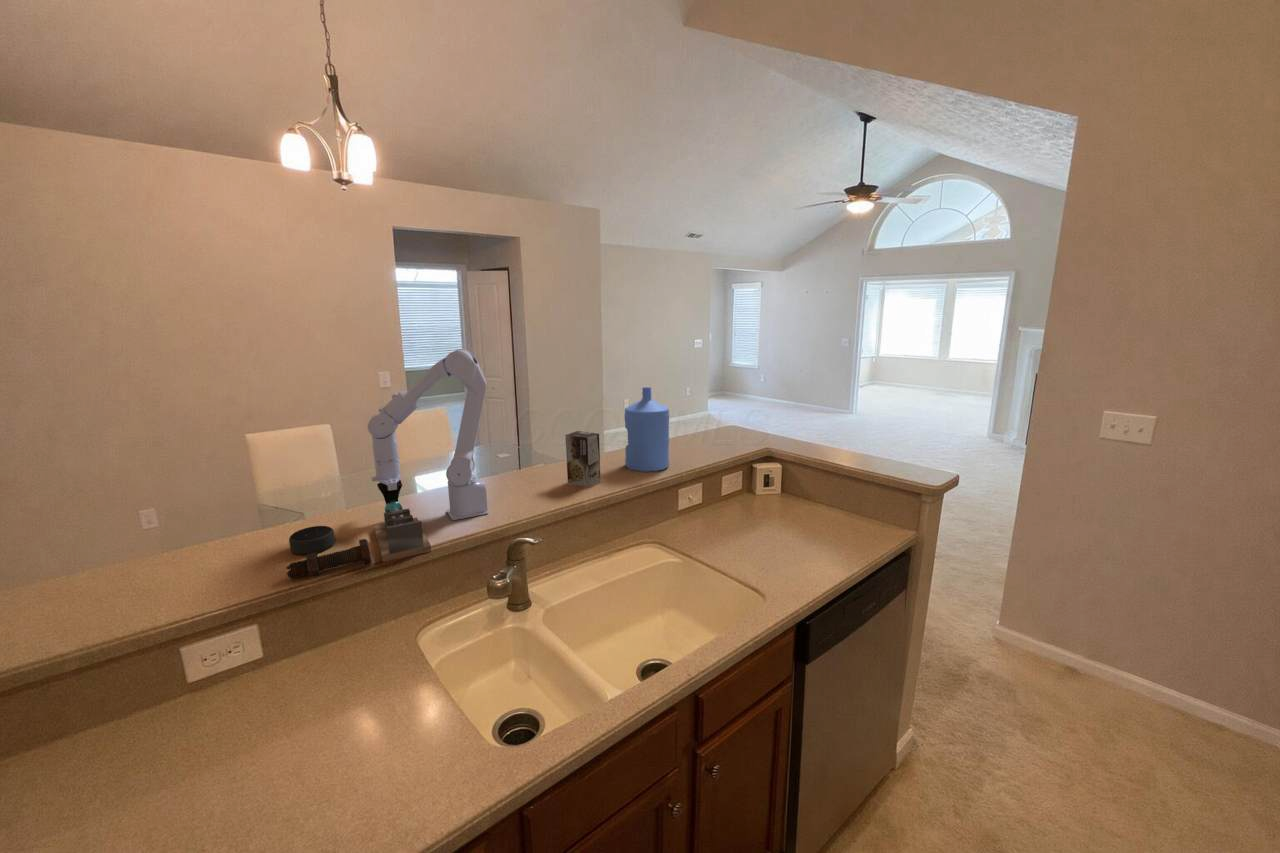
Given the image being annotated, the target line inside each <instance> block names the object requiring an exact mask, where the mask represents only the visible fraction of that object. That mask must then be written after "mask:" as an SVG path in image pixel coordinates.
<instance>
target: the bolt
mask: <svg viewBox="0 0 1280 853" xmlns="http://www.w3.org/2000/svg"><path fill="white" fill-rule="evenodd" d="M358 544H359V545H357V546H352V547H350V548H346V549H342V550H338V551H335V552H332V553H331V552H330V553H327V554H322V555H319V556H318V554H317V553H311V554H307V555H305V559H302V560H299V561H294V562H291V563H290V564H289V565H287V566H286V570H288V571H287V572H286V575H287V577H288V578H289V579H294V578H299V577H303V576H305V575H308V576H309V578H317V577H319V576H320V575H321V572H322V571H324V570H331V569H334V568H337V567H342V566H346V565H350V564H356V563H357V564H358V563H360V562H362V564H363V566H365V567H366V566H369V565H371V563H372V557H371V551H370V546H369V542H368V539H366V538H363V539H359V540H358Z"/></svg>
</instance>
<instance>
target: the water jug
mask: <svg viewBox="0 0 1280 853" xmlns="http://www.w3.org/2000/svg"><path fill="white" fill-rule="evenodd" d="M641 389H642V392H641V394H642V398H641V399H640V400H639V401H637V402H635V403H633V404H631V405H629V406H627V407H625V408H624V429H626V431H627V445H625V448H624V449H625V460H624V465H625V467H626V468H628V469H629V470H631V471H635V472H640V471H641V473H650V472H651V471H654V472H660V471H663V470H666V469H667V468H668V467H669V465H670V409H669V407H668V406H665V405H663V404H661V403H659V402H657V401H655V400H653V398H652V387H650V386H649V387H642V388H641ZM665 468H666V469H665ZM659 470H660V471H659ZM651 473H652V472H651Z"/></svg>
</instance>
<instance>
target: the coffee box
mask: <svg viewBox="0 0 1280 853" xmlns="http://www.w3.org/2000/svg"><path fill="white" fill-rule="evenodd" d="M564 437H565V451H566V452H565V453H566V473H567V474H566V475H567V483H568V484H571V485H576V486H581V487H587V488H591V487H593V486H596V485H598V484H600V483H601V453H600V452H601V451H600V449H601V448H600V433H596V432H588V431H581V430H580V431H579V430H577V431H573V432H570V433H567V434H565V436H564Z"/></svg>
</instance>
